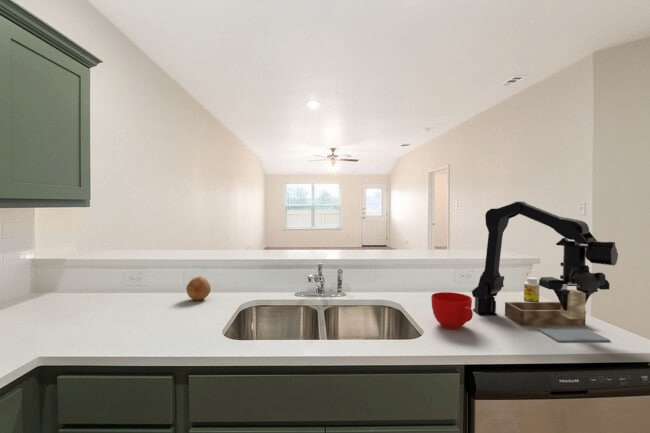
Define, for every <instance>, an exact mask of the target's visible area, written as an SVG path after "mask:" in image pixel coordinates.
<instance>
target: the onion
mask: <svg viewBox="0 0 650 433" xmlns="http://www.w3.org/2000/svg"><path fill="white" fill-rule="evenodd" d="M185 289H186V294H187V296H188V297H189V299H192V300H194V301H197V302H198V301H202V300H203V299H206V298H207V297H208V296H209V294H210V293H211V285H210V282H209V281H208V279H206V278H204V277H203V276H201V275H199V276H197V277H196V276H195V277H194V278H192V279H191V280H190V281H189V282H188V283H187V286H186V288H185Z"/></svg>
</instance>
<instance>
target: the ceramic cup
mask: <svg viewBox="0 0 650 433" xmlns="http://www.w3.org/2000/svg"><path fill="white" fill-rule="evenodd" d="M472 302H473V298H472V297H471V296H470V295H466V294H464V293H458V292H450V291H449V292H448V291H444V292H443V291H442V292H434V293H433V294H431V309H432V312H433V315H434V318H435V320H436V321H437V322H438V324H440V326H441V328H444V329H446V330H447V329H448V330H460V329H461V328H462V327H463V326H464V325H465V324H466V323H467V322H470V321H471V320H472V318H473V309H472V304H473V303H472Z"/></svg>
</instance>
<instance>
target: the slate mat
mask: <svg viewBox="0 0 650 433" xmlns="http://www.w3.org/2000/svg"><path fill="white" fill-rule="evenodd" d="M537 331H538V332H540V333H542V334H543V335H544V336H547V337H549V338H551V340H553V341H555V342H557V343H585V342H586V343H588V342H589V343H591V342H592V343H593V342H594V343H595V342H596V343H597V342H598V343H603V342H604V343H606V342H607V343H608V342H611V340H610V339H609V338H607V337H605V336H603V335H601V334H598V332H597V333H596V332H595V331H593V330H591V329H588V328H586V327H585V328H537Z"/></svg>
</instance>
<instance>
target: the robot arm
mask: <svg viewBox="0 0 650 433" xmlns="http://www.w3.org/2000/svg"><path fill="white" fill-rule="evenodd" d="M518 215H521V216H524V217H526V218H529V219H531V220H533V221H536V222H538V223H540V224H543V225H545V226H547V227H549V228H551V229H553V230H554V231H555V233H557V234H559V235H560V236H562V238H561V239H560V240H559V241H557V242H555V243H556V244H555V246H556V245H557V246H562V247H563V257H562V258H563V259H562V260H563V261H562V262H560V267H562V274H560V276H559V278H556V277H553V276H541V277H540V278H539V280H538V283H539V287H542V288H545V289H548V290H551V291H553V292H554V293H555V295H556V296H557V298H558V300H559V301H558V302H560V303H561V306H562V308H563V310H565V311H567V303H568V294H569V292H570V290H571V289H568V287H575V288H576V289H575V290H578V291H581V292H583V293H586V298H585V305H587V302H588V299H589V298H590V297H591V295H592V294H594V293H598V292H599V290H610V287H611V286H610V283H609V281H608V279H607V278H606V274H605V273H604V272H590V267H589V265H588V264H587V265H586V260H587V261H589V262H590V263H591V264H597V265H605V266H606V265H607V266H612V267H613V266H616V264H617V262H618V258H619V253H618V250H617V247H616V242H615V241H598V240H597V239H596V237H594V235H593V234H592V232H591V231H590V229H589V228H590V227H589V225H588V223H587V222H585V221H583V220H579V219H574V218H569V217H564V216H559V215H556V214H554V213H551V212H548V211H546V210H545V209H544V210H543V209H541V208H539V207H536V206H533V205H531V204H528V203H527V202H525V201H514V202H512V203H509V204H507V205H503V206H501V207H496V208H490V209H488V210H487V211H486V212H485V216H484V217H485V226H486V228H487V231H488V237H487V246H486V253H485V254H486V256H485V263H484V264H485V266H484V270H483V272H482V273H481V275H480V277H479V280H478V283H477V286H476V287H475V288H474V289H472V290H471V294H472V297H473V298H474V308H472V311H474V312H475V313H476V314H478V315H479V316H487V315H488V316H490V315H491V316H497V312H496V311H497V301H496V298H495V297H497V295H498V293H500V291H501V290H502V288H504V287H505V285H504V281H505V276H504V275H501V273H500V264H501V255H502V254H501V253H502V244H503V235H504V232H505V230H506V229H507V227H508V224H509V222H510V221H509V220H510V219H512V218H515V217H517V216H518Z"/></svg>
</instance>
